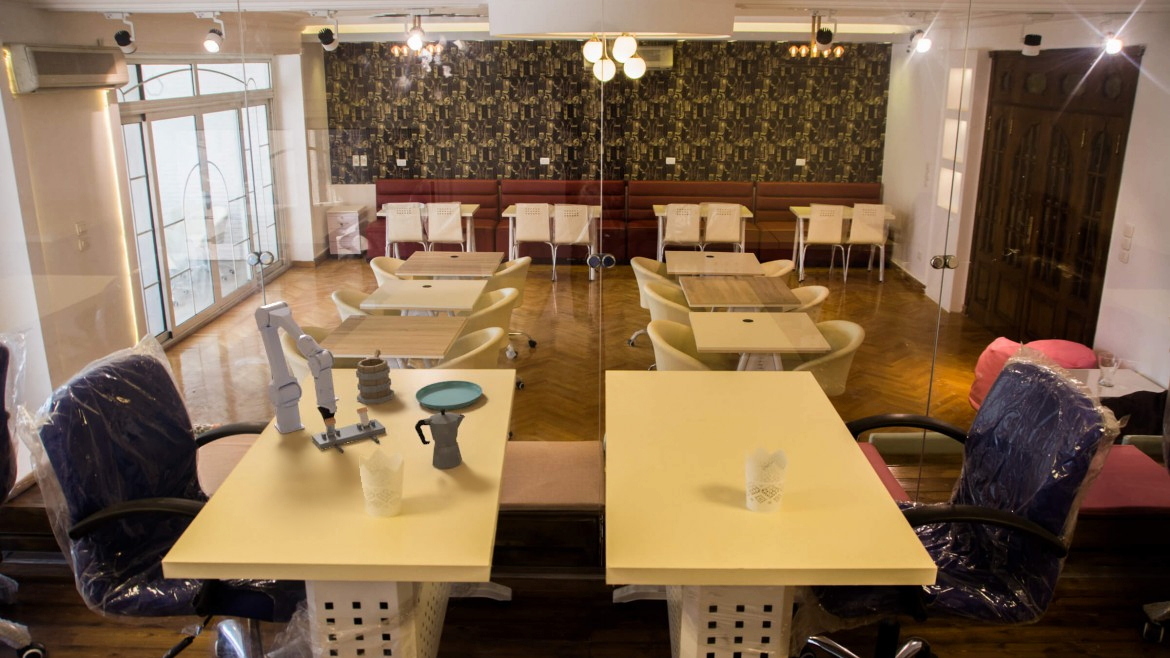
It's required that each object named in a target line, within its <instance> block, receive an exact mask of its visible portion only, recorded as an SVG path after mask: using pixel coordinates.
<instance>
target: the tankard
mask: <svg viewBox="0 0 1170 658" xmlns="http://www.w3.org/2000/svg"><path fill="white" fill-rule="evenodd" d="M381 355H382V351H381V350H380V349H375V352H374V356H373V357H370V358H365V359H361V360H360V361H358V363H357V364H356V368H357V369H356V371H355V375H356V376H355V377H356V378H358V383H356V385H357V390H359V393H358V394H357V396H356V401H358V402H360V403H362V404H364V405H379V404H383V403H385V402H389V401H391V400H392V399H393V398H394V396H395V390H393V389H391V386H392V379H391V378H390V375H389V374H390V372H391V368H390V365H388V360H387V359H384V358H383V357H380V356H381Z"/></svg>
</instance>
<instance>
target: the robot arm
mask: <svg viewBox="0 0 1170 658" xmlns="http://www.w3.org/2000/svg"><path fill="white" fill-rule="evenodd" d="M292 312H293V311H292V307H290V306H289V304H288V303H287V302H286V301H284V300H279V301H277V302H273V303H270V304H267V305H262V306H258V307H257V308H256V309H255V312H254V314H253V315H254V318H255V322H256V326H257V331H260V334H261V337H262V342H263V346H264V349H265V353H266V355H267V356H266V357H267V360H268V363H269V367H270V371H271V375H272V380H270V382H269V384H268V386H267V388H268V400H269V402H270V404H271V405H272V406H274V411H275V418H276V423H274V426H275V428H276V429H277V430H278V432H279V433H280V434H281V435H283V434H284V435H285V434H288V433H290V432H296V431H299V430H304V429H305V428H306V427H305V425H304V424H303V423H302V421H301V415H300V407H299V402H300V401H301V400H300V399H301V398H302V395H303V389H302V386H301V384H300V383H299V381H298V378H297V377H296V376H293V375H291V374H290V371H289V368H288V364H287V361H286V357H285V353H284V350H283V346H282V341H281V338H280V334H279V328H282V329H283V330H284V331H285V332H286V333H287V334H288V335H289V336H290V337H291V338H292V339H293V340H294V341H296V342H295V346H296V348H297V349H298V350H299V352H300V353H301V354H302V355H303V357H305V358H306V360H307V366H308V368H309V370H310V374H311V375H312V377H313V382H314V390H315V398H316V405H317V407H316V409H317V410H318V411H319V413H320V415H321V418H322V421H323V423H324V425H325V426H326V424H325V419H328V418H332V417H334V418H335V416H336V415H335V414H336V413H337V410H338V407H337V405H336V404H337V402H338V401H339V400H340V399H339V397H338V396H335V395H336V394H335V388H334V380H333V371H332V367H333V366H334V364H335V358H334V354H333V353H332V352H331V350H329V349H326V348H324V347H321V346H320V344H318V342H317V341H316V340H315V339H314V338H313V337H312V336H311V334H305V333H304V331H303V330H302V328H301V327H300V325H299V324H298V323H297V322H296V320H295V319H294V318H293V316H292V315H293V314H292Z"/></svg>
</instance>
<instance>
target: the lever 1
mask: <svg viewBox="0 0 1170 658" xmlns="http://www.w3.org/2000/svg"><path fill="white" fill-rule="evenodd" d="M335 418H336V417H335V416H334V417H332V418H328V419H325V423H324V425H325V424H326V425H325V428H326V431H325V432H326V434H327V437H328V436H332V435H335V429H336V426H335V425H336V424H337V422H336V419H335Z"/></svg>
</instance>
